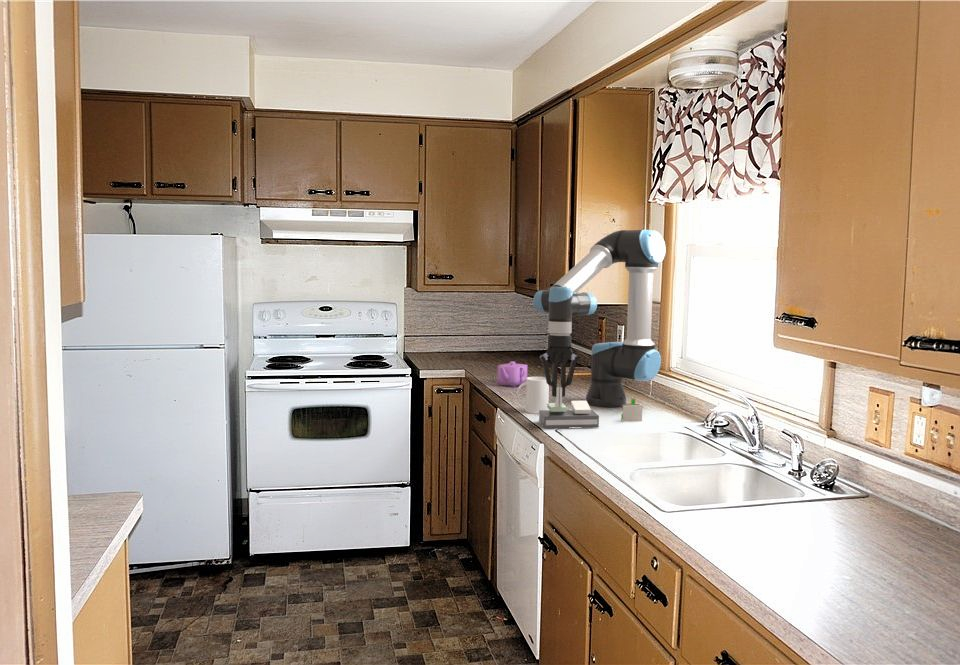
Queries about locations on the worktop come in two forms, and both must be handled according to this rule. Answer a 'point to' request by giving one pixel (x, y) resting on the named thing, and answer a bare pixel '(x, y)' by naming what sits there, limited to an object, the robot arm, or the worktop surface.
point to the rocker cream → (580, 407)
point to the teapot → (512, 374)
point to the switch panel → (567, 419)
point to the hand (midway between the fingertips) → (558, 406)
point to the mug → (535, 394)
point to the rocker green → (556, 408)
